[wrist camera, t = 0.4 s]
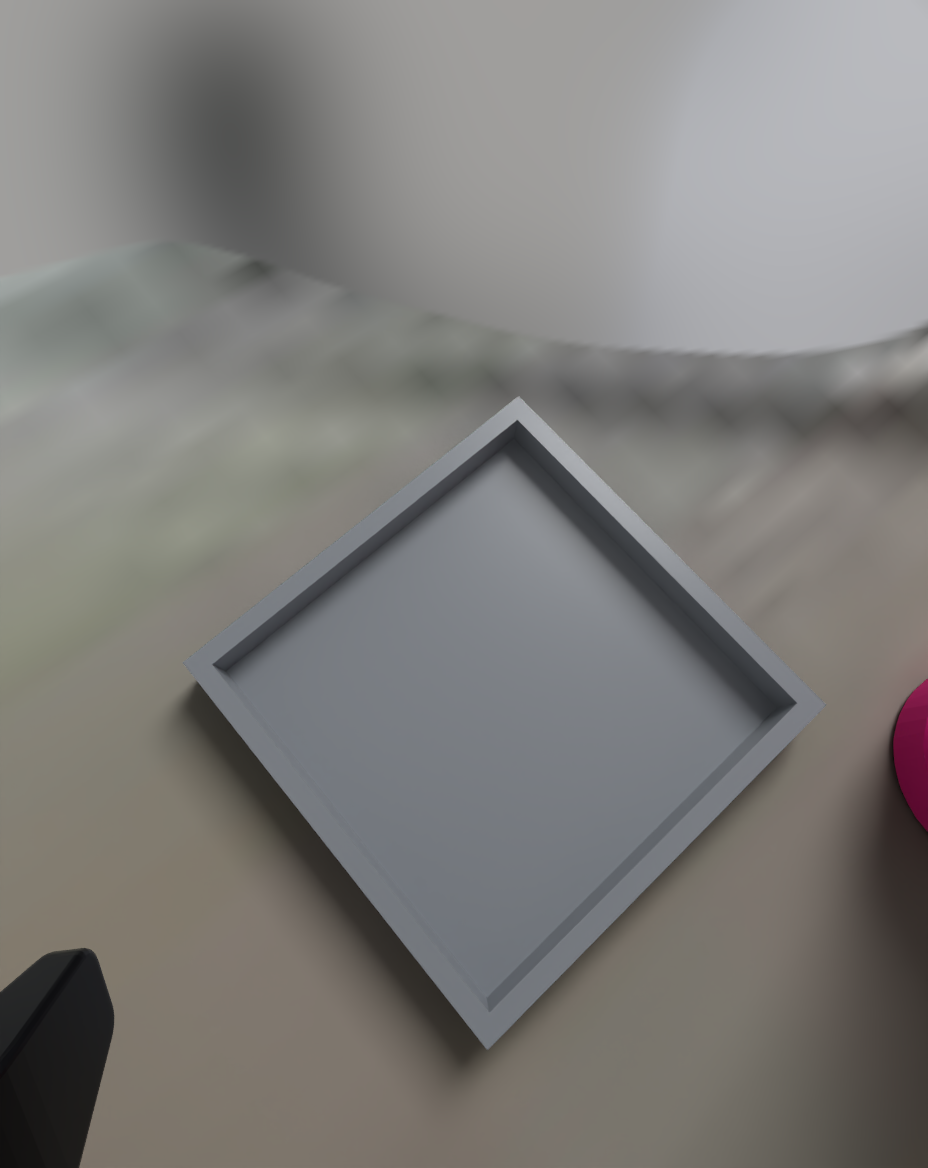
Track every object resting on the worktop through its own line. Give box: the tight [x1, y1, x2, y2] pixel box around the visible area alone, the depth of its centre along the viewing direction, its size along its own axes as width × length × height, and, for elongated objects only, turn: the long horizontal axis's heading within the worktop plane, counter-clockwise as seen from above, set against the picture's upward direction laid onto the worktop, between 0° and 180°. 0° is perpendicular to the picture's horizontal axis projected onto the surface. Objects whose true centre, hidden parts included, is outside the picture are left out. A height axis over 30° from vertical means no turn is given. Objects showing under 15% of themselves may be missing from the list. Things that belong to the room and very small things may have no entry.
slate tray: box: [183, 396, 826, 1050], centre depth 22 cm, size 13×13×2 cm
